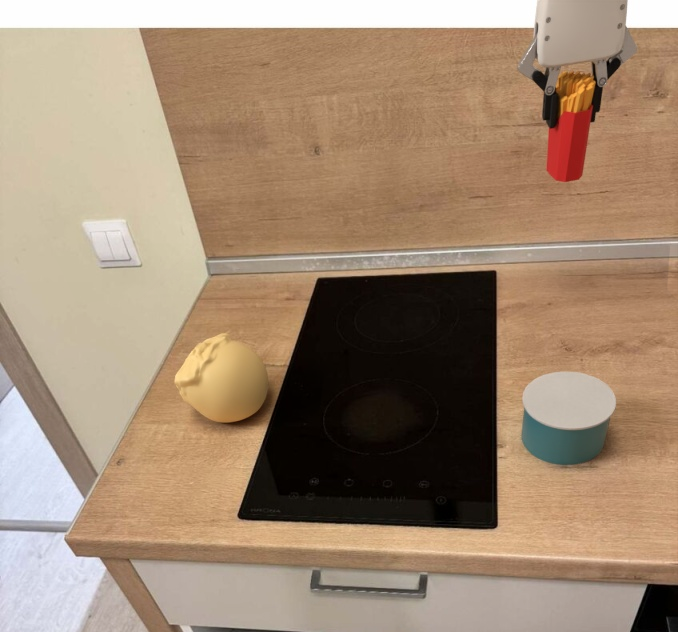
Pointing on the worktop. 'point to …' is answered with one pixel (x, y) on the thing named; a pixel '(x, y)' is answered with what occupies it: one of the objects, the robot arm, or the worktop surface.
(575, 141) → the french fries
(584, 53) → the robot arm
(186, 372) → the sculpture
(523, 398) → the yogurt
